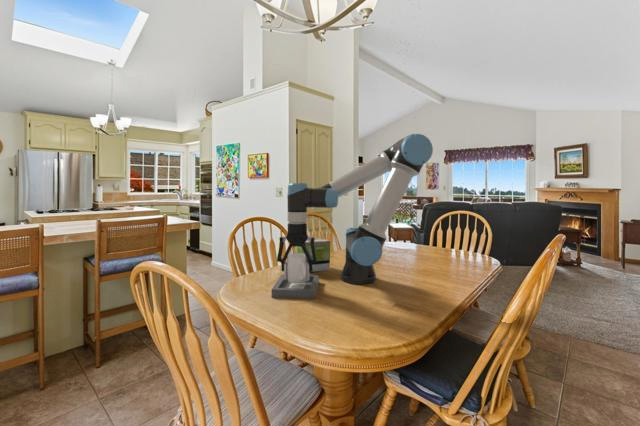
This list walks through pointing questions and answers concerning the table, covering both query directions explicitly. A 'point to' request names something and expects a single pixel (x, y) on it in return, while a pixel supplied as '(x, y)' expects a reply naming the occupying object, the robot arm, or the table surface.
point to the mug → (297, 268)
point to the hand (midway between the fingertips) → (296, 279)
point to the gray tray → (296, 288)
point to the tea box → (318, 253)
